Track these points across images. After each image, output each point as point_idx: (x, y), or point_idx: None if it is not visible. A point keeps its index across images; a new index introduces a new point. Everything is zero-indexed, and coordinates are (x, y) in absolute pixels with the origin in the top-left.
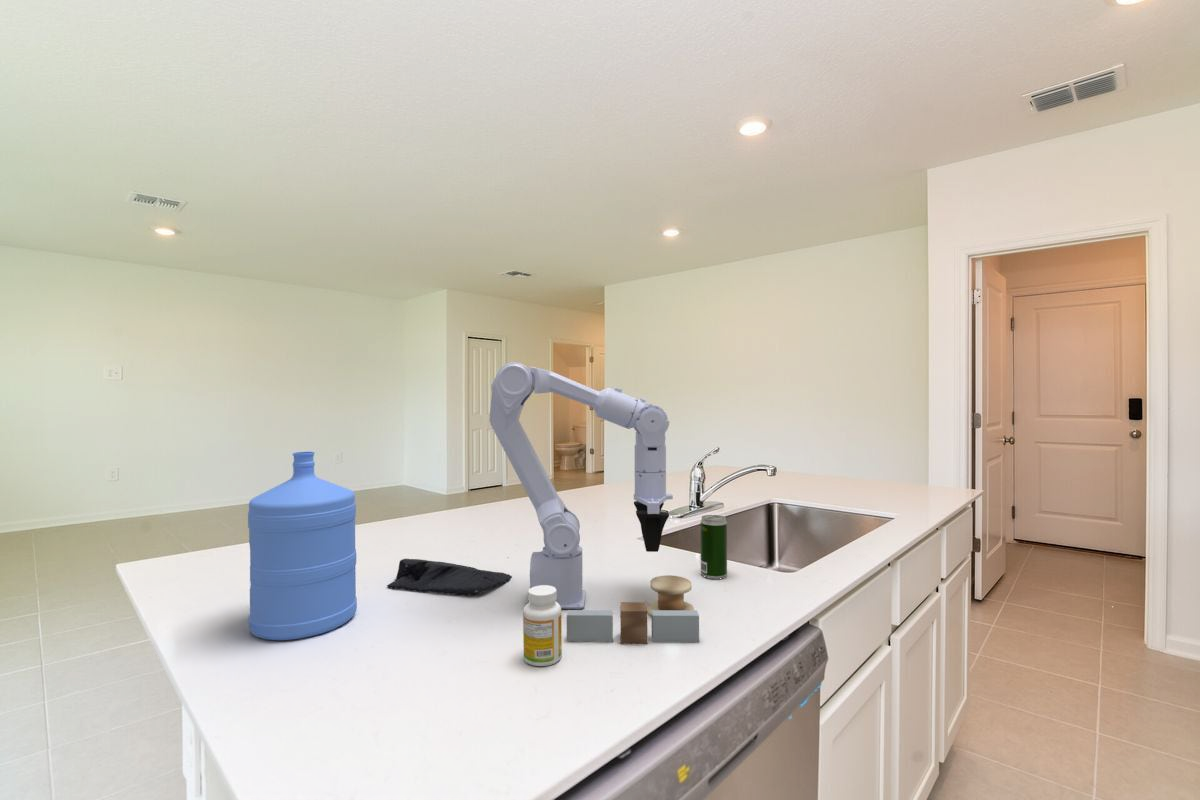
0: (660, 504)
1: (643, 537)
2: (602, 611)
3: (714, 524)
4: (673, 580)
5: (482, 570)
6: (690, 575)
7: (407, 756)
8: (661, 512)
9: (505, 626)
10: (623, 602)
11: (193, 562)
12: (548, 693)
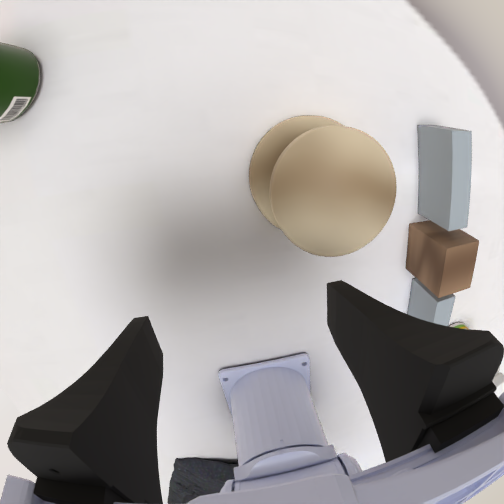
0: (498, 434)
1: (162, 361)
2: (438, 316)
3: None
4: (322, 185)
5: (218, 488)
6: (23, 147)
7: None
8: (442, 398)
9: (363, 409)
10: (440, 292)
11: None
12: (500, 306)
